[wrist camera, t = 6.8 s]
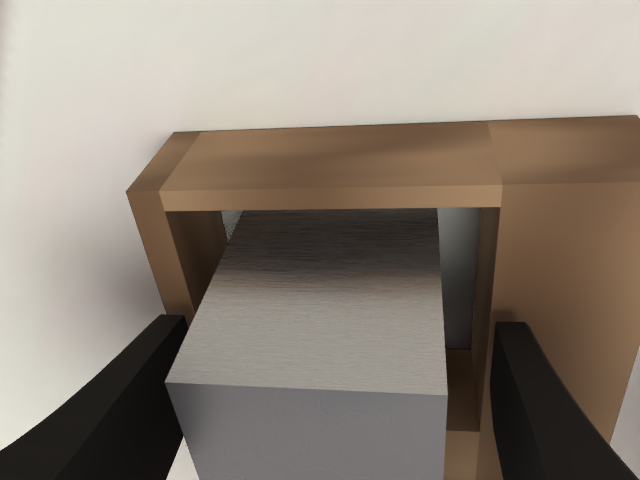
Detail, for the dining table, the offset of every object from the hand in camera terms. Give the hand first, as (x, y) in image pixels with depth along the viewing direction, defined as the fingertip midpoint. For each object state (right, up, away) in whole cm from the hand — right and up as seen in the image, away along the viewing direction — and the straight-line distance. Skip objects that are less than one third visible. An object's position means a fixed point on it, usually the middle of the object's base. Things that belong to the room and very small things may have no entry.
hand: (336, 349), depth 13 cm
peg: (0, +2, +3) cm, 4 cm away
